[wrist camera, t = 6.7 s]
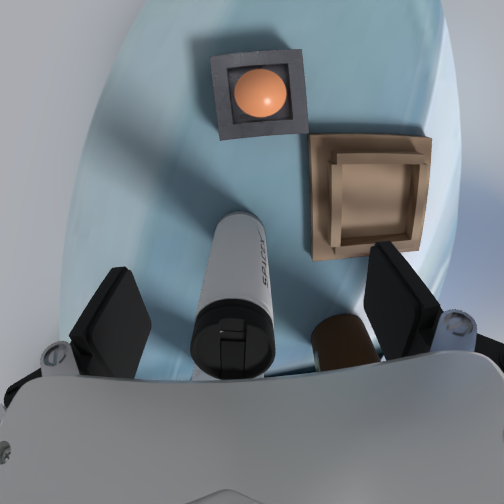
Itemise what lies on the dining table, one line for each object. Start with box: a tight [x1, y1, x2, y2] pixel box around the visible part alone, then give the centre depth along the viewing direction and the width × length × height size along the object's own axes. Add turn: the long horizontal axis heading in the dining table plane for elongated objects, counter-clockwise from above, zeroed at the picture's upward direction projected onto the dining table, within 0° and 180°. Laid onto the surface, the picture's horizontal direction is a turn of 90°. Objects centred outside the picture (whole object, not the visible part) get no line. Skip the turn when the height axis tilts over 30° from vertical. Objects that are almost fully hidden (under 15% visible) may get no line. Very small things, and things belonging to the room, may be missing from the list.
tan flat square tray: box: [308, 133, 432, 261], centre depth 32 cm, size 16×16×4 cm
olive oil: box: [311, 314, 381, 372], centre depth 35 cm, size 11×11×25 cm
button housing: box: [210, 49, 309, 141], centre depth 27 cm, size 9×9×4 cm
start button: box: [234, 69, 286, 117], centre depth 26 cm, size 5×5×3 cm
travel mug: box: [190, 211, 275, 380], centre depth 28 cm, size 6×7×20 cm
